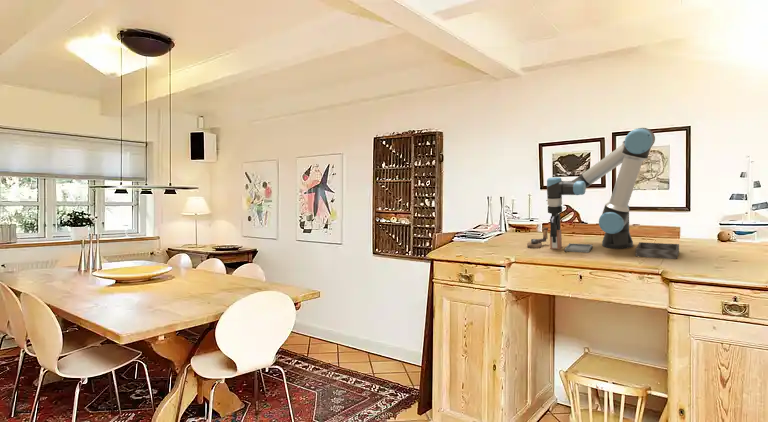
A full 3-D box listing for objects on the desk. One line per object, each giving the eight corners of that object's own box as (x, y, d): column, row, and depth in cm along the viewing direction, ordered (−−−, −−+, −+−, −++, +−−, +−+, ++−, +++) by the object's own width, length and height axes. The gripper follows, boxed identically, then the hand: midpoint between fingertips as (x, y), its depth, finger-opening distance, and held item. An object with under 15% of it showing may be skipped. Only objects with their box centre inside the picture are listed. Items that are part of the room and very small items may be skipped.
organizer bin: (679, 252, 240) (679, 244, 240) (677, 259, 229) (677, 250, 229) (639, 249, 250) (639, 242, 250) (635, 256, 239) (635, 248, 239)
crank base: (525, 247, 274) (525, 244, 274) (529, 244, 280) (529, 241, 280) (539, 248, 270) (539, 245, 269) (543, 245, 276) (543, 241, 276)
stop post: (561, 247, 269) (561, 229, 267) (559, 249, 265) (559, 231, 263) (552, 246, 271) (552, 229, 270) (550, 248, 267) (549, 231, 266)
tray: (592, 247, 263) (592, 244, 263) (588, 252, 253) (588, 249, 253) (569, 246, 270) (569, 243, 270) (564, 251, 260) (564, 248, 260)
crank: (533, 243, 273) (532, 230, 271) (529, 242, 276) (529, 229, 275) (549, 241, 275) (549, 228, 273) (546, 240, 278) (545, 227, 277)
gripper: (551, 202, 274) (553, 242, 277) (543, 208, 259) (545, 250, 263) (565, 202, 270) (566, 243, 273) (557, 208, 255) (559, 251, 258)
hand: (556, 246), depth 268 cm, fingers closed on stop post, 5 cm apart
